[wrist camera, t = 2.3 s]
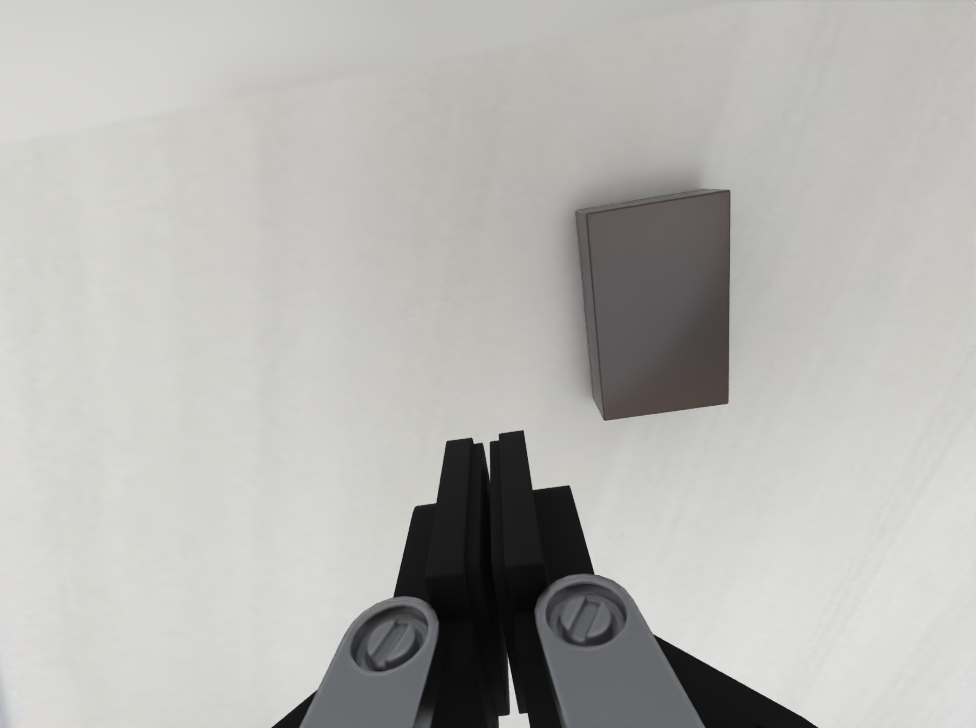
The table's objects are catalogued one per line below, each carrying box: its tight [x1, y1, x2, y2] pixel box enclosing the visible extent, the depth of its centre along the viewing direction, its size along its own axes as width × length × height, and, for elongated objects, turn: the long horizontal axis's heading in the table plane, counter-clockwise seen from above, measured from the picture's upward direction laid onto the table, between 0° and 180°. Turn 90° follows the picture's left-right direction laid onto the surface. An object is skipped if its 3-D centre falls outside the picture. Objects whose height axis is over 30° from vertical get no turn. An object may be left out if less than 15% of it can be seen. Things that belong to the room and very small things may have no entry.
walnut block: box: [576, 189, 730, 421], centre depth 21 cm, size 9×6×2 cm, turn 9°
